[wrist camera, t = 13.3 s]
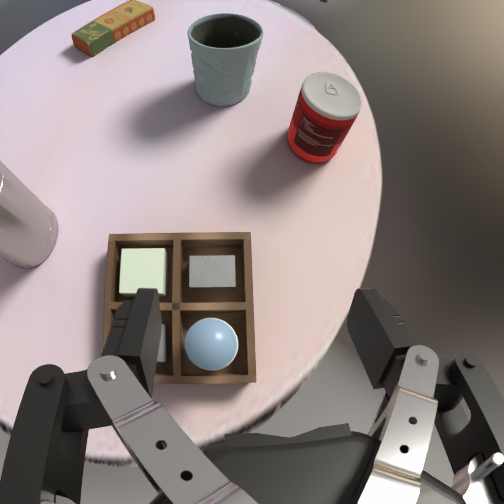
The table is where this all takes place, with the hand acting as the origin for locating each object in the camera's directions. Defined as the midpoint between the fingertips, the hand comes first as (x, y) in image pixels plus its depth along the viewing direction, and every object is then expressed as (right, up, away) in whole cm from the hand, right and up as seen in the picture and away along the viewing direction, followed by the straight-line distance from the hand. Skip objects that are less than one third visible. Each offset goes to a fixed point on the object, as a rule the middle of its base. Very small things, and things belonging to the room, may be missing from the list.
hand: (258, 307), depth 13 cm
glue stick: (-5, -8, +23) cm, 24 cm away
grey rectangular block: (-5, -1, +25) cm, 25 cm away
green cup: (-5, +29, +34) cm, 45 cm away
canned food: (+8, +18, +32) cm, 38 cm away
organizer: (-9, -5, +24) cm, 26 cm away
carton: (-29, +48, +38) cm, 67 cm away
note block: (-13, -1, +24) cm, 27 cm away
